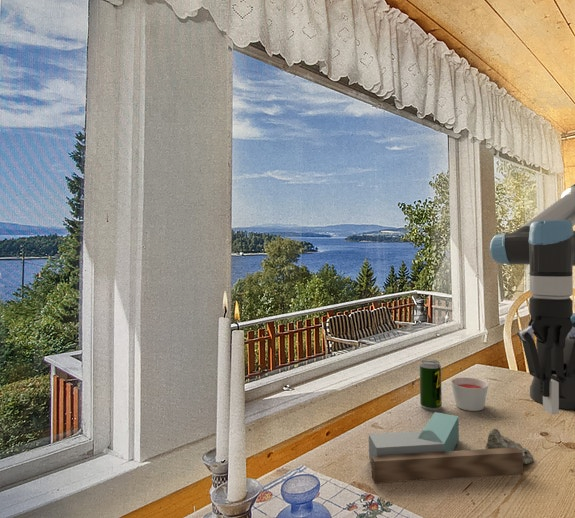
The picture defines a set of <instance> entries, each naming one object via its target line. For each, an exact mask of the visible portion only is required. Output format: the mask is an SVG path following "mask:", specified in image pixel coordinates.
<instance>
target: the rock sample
mask: <svg viewBox="0 0 575 518" xmlns="http://www.w3.org/2000/svg"><path fill="white" fill-rule="evenodd" d="M485 445H486V446H485V449H497V448H513V447H517V448H518V449H519V450H520V451H522V452H523V464H525V465H528V464H531V463H533V461H534V456H533V454H532V453H531V452H530V450H529V449H527V448H525V447H523V445H522V444H520V443H519V442H515V441H514V440H512V439H510V438H509V437H507V436H504V435H502V434H501V432H500V431H499V429H498V428H493V429H492V430H490V431H489V433H488V436H487V442H486V444H485Z"/></svg>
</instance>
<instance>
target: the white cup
mask: <svg viewBox="0 0 575 518" xmlns="http://www.w3.org/2000/svg"><path fill="white" fill-rule="evenodd" d="M450 383H451V384H450V385H451V388H452V393H453V399H454V403H455V406H456V407H457V408H459V409H461V410H464V411H469V412H478V411H482V410H484V408H485V405H486V401H487V400H486V399H487V393H488V389H489V383H488V382H487V381H485V380H483V379H479V378H474V377H465V376H464V377H455V378H453V379H451V380H450Z"/></svg>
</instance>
